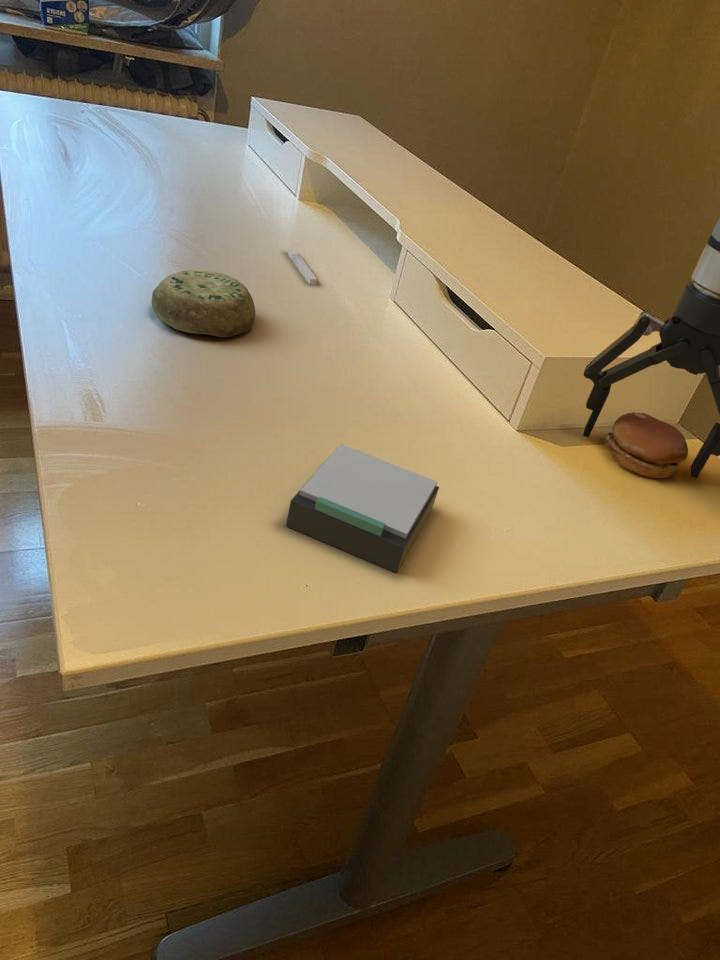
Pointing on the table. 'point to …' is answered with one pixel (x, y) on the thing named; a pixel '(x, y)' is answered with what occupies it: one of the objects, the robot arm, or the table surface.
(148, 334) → the table surface
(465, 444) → the table surface
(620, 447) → the burger
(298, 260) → the light grey bar
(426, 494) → the scale
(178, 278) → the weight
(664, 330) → the robot arm
